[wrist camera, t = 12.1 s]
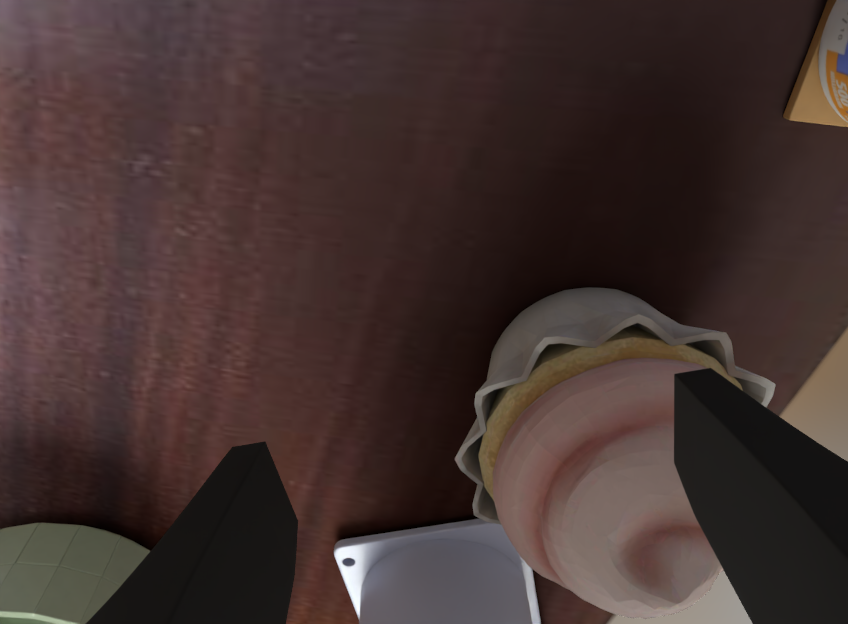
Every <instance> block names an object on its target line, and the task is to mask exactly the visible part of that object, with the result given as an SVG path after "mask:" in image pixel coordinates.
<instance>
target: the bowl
mask: <svg viewBox="0 0 848 624" xmlns="http://www.w3.org/2000/svg"><path fill="white" fill-rule="evenodd" d="M149 552H150V550H148V549H146V548H145V547H143V546H141V545H139V544H138V543H136V542H134V541H132V540H130V539H128V538H125V537H123V536H121V535H118V534H115V533H112V532H109V531H106V530H102V529H98V528H94V527H89V526H84V525H74V524H56V523H39V522H38V523H32V524H26V525H19V526H13V527H7V528H3V529H0V624H86V623H87V622H88V621H89V620H90V619H91V618H92V617H93V615H94V614H95V613H96V612H97V611H98V610H99V609H100V608H101V607H102V606H103V605H104V604H105V603H106V602H107V601H108V600H109V598H110V597H111V596H112V595H113V594H114V593H115V592H116V591H117V590H118V589H119V587H120V586H121V585H122V584H123V583H124V582H125V580H126V579H127V578H128V577H129V576H130V575H131V573H132V572H133V571H134V570H135V569H136V568H137V566H138V565H139V564H140V563H141V562H142V561H143V559H144V558H145V557H146V556H147V555H148V554H149Z"/></svg>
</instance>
